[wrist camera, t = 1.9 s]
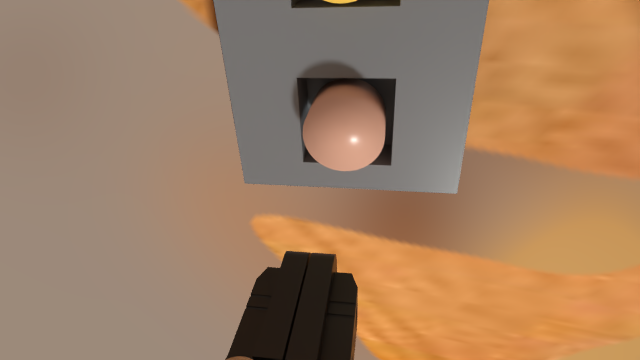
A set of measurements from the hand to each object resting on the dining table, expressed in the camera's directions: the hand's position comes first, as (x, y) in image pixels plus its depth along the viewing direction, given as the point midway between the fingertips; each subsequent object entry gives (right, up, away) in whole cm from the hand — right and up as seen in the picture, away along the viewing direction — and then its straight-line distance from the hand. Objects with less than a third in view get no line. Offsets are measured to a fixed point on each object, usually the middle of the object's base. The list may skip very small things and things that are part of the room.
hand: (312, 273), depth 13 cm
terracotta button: (+2, +6, +10) cm, 12 cm away
